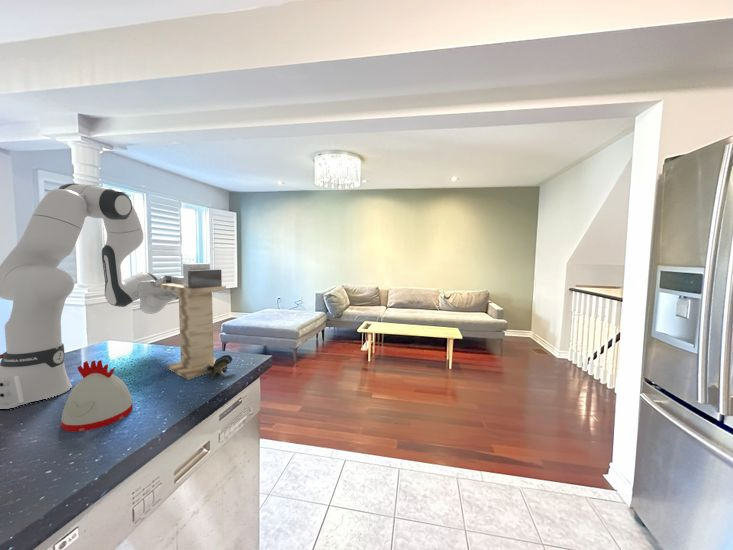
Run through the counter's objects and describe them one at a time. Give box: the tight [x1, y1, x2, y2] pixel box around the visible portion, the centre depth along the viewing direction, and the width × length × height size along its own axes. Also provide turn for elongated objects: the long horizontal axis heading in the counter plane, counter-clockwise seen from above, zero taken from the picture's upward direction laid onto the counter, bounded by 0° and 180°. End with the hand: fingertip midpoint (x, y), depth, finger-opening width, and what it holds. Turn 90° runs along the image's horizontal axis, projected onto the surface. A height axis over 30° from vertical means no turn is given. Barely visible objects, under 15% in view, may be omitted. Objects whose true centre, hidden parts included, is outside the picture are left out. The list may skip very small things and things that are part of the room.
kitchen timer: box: [60, 359, 134, 433], centre depth 78 cm, size 14×14×15 cm
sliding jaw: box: [163, 262, 211, 287], centre depth 114 cm, size 26×7×8 cm, turn 55°
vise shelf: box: [160, 268, 228, 381], centre depth 111 cm, size 24×14×37 cm, turn 55°
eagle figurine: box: [203, 354, 233, 381], centre depth 105 cm, size 8×7×9 cm
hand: (173, 278), depth 119 cm, fingers open, 5 cm apart
